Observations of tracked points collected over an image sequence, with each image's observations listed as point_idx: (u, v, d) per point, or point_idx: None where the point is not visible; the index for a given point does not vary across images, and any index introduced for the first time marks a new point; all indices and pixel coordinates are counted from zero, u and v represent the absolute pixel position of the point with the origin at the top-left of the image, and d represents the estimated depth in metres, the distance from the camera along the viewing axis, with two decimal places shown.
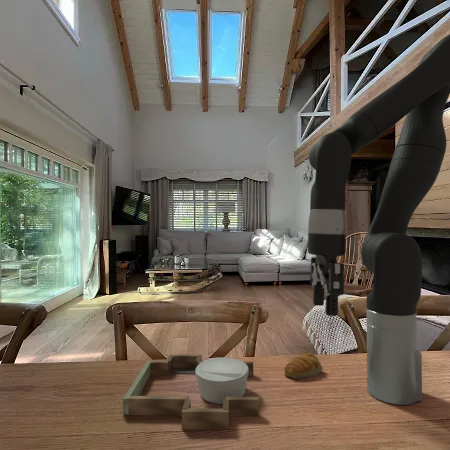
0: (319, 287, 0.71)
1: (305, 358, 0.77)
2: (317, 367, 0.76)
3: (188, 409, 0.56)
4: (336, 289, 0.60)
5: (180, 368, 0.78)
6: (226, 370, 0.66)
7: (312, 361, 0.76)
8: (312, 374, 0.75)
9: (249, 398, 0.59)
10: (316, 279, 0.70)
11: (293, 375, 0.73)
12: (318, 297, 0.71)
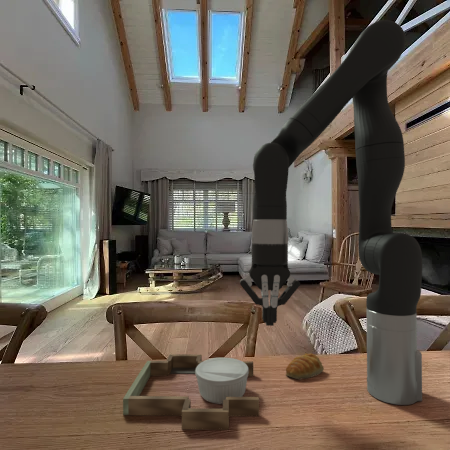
0: (268, 305, 0.68)
1: (306, 358, 0.77)
2: (319, 367, 0.75)
3: (188, 409, 0.56)
4: None
5: (180, 368, 0.78)
6: (226, 370, 0.66)
7: (313, 361, 0.76)
8: (314, 374, 0.75)
9: (249, 398, 0.59)
10: None
11: (295, 375, 0.73)
12: None
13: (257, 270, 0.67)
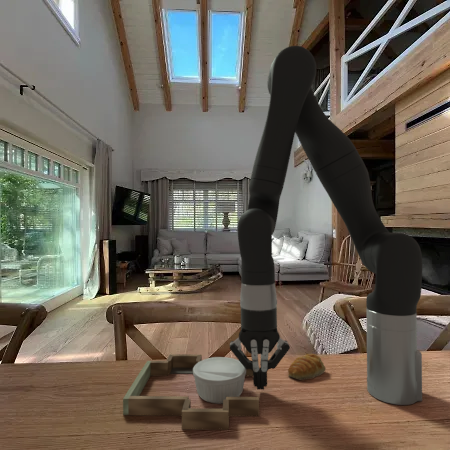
0: (258, 368, 0.67)
1: (308, 359, 0.76)
2: (321, 367, 0.75)
3: (188, 409, 0.56)
4: None
5: (180, 368, 0.78)
6: (223, 370, 0.66)
7: (315, 361, 0.76)
8: (316, 374, 0.75)
9: (249, 398, 0.59)
10: (257, 357, 0.66)
11: (298, 376, 0.73)
12: None
13: (246, 334, 0.66)
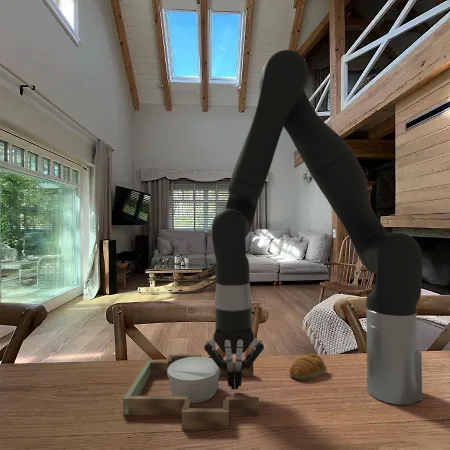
0: (233, 368, 0.68)
1: (310, 359, 0.76)
2: (322, 368, 0.75)
3: (188, 409, 0.56)
4: None
5: None
6: (197, 369, 0.66)
7: (317, 362, 0.76)
8: (317, 375, 0.74)
9: (249, 398, 0.59)
10: (232, 357, 0.67)
11: (299, 376, 0.72)
12: (234, 379, 0.67)
13: (221, 334, 0.67)
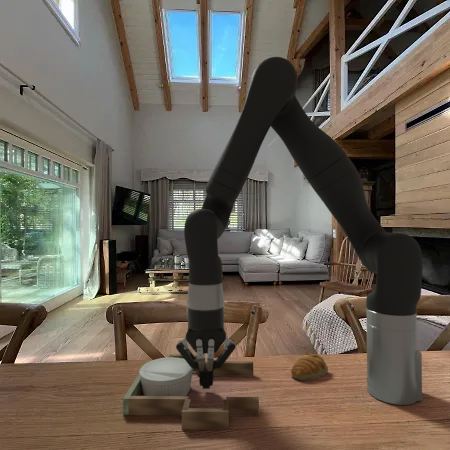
0: (205, 368, 0.68)
1: (311, 359, 0.76)
2: (324, 368, 0.75)
3: (188, 409, 0.56)
4: None
5: None
6: (169, 370, 0.67)
7: (318, 362, 0.76)
8: (319, 375, 0.74)
9: (249, 398, 0.59)
10: (203, 357, 0.67)
11: (302, 377, 0.72)
12: None
13: (192, 334, 0.67)
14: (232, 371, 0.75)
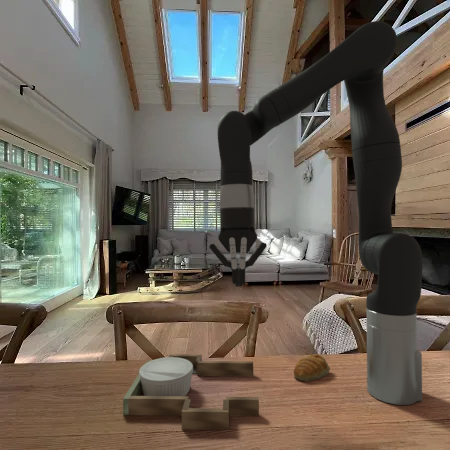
0: None
1: (313, 359, 0.76)
2: (326, 368, 0.75)
3: (188, 409, 0.56)
4: None
5: None
6: (169, 370, 0.67)
7: (320, 362, 0.75)
8: (321, 375, 0.74)
9: (249, 398, 0.59)
10: None
11: (304, 377, 0.72)
12: None
13: (225, 234, 0.70)
14: (232, 371, 0.75)
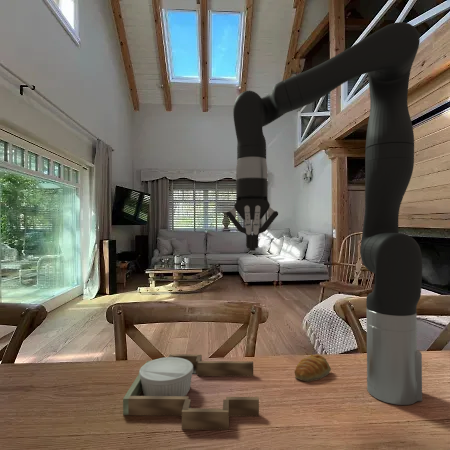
0: None
1: (314, 359, 0.76)
2: (327, 368, 0.75)
3: (188, 409, 0.56)
4: None
5: None
6: (169, 370, 0.67)
7: (321, 362, 0.75)
8: (323, 375, 0.74)
9: (249, 398, 0.59)
10: None
11: (306, 378, 0.72)
12: None
13: (241, 202, 0.77)
14: (232, 371, 0.75)
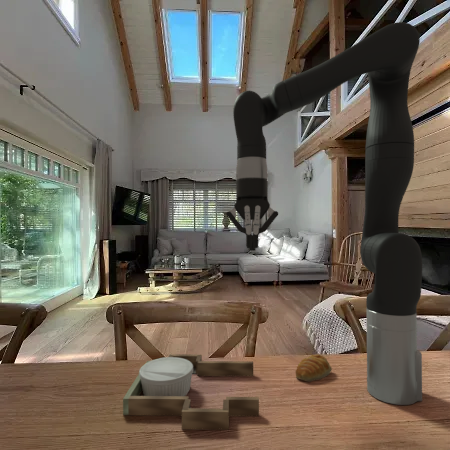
0: None
1: (315, 359, 0.76)
2: (328, 368, 0.75)
3: (188, 409, 0.56)
4: None
5: None
6: (169, 370, 0.67)
7: (322, 362, 0.75)
8: (324, 375, 0.74)
9: (249, 398, 0.59)
10: None
11: (307, 378, 0.72)
12: None
13: (241, 202, 0.77)
14: (232, 371, 0.75)
